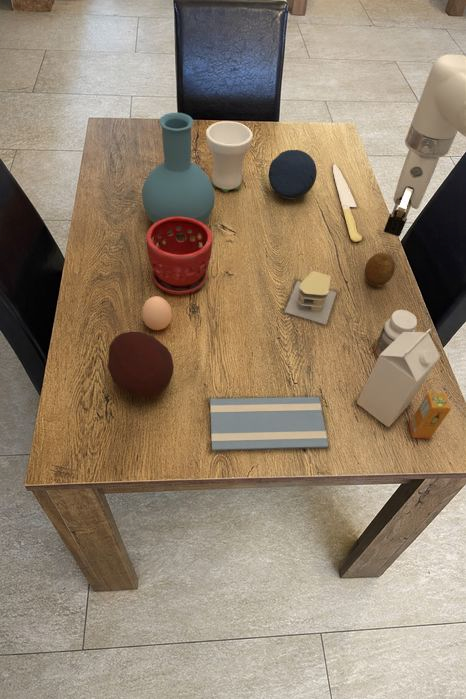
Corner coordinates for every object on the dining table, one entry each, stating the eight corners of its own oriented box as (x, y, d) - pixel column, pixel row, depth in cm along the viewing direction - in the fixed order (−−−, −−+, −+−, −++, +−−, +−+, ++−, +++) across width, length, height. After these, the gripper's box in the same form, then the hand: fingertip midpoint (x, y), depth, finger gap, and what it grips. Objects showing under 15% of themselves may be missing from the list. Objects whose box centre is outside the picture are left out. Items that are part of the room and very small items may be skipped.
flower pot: (211, 300, 106) (213, 257, 96) (148, 300, 105) (144, 257, 95) (210, 257, 114) (211, 214, 104) (151, 257, 113) (147, 213, 103)
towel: (318, 398, 93) (319, 396, 92) (327, 447, 87) (328, 446, 86) (210, 400, 91) (210, 398, 90) (211, 450, 85) (211, 449, 84)
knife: (344, 162, 139) (329, 159, 138) (369, 241, 119) (352, 238, 118) (342, 167, 140) (327, 163, 139) (367, 245, 120) (350, 242, 119)
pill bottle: (388, 335, 103) (404, 303, 95) (408, 354, 100) (427, 322, 92) (368, 347, 101) (382, 315, 93) (388, 367, 98) (405, 335, 90)
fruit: (374, 269, 115) (384, 242, 108) (394, 286, 112) (406, 259, 105) (354, 279, 112) (364, 252, 106) (374, 296, 109) (385, 269, 103)
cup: (198, 176, 132) (199, 124, 121) (237, 168, 136) (241, 117, 124) (214, 201, 126) (216, 149, 115) (254, 192, 129) (260, 141, 118)
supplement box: (425, 422, 91) (447, 392, 83) (429, 439, 89) (452, 410, 81) (407, 421, 91) (427, 391, 83) (411, 438, 89) (432, 409, 81)
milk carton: (355, 403, 92) (386, 339, 77) (377, 381, 96) (411, 315, 81) (387, 428, 90) (426, 366, 74) (409, 404, 93) (450, 341, 78)
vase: (136, 207, 123) (124, 106, 103) (199, 194, 128) (200, 95, 108) (157, 251, 114) (149, 149, 94) (224, 235, 119) (230, 135, 99)
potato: (134, 422, 87) (128, 390, 79) (99, 370, 93) (89, 335, 85) (188, 392, 92) (187, 358, 83) (151, 344, 98) (147, 309, 90)
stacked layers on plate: (297, 280, 111) (301, 262, 106) (336, 292, 109) (342, 274, 105) (284, 312, 105) (288, 294, 101) (326, 324, 103) (331, 306, 99)
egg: (144, 338, 99) (141, 312, 93) (142, 316, 102) (138, 290, 96) (174, 334, 100) (172, 309, 94) (170, 313, 103) (168, 287, 97)
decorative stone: (271, 176, 134) (276, 141, 126) (315, 185, 133) (323, 151, 125) (261, 201, 127) (265, 166, 119) (307, 212, 126) (315, 177, 118)
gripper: (443, 170, 80) (406, 251, 93) (459, 120, 89) (423, 200, 103) (397, 157, 81) (367, 239, 95) (417, 109, 91) (388, 189, 105)
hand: (397, 218), depth 99 cm, fingers open, 9 cm apart
